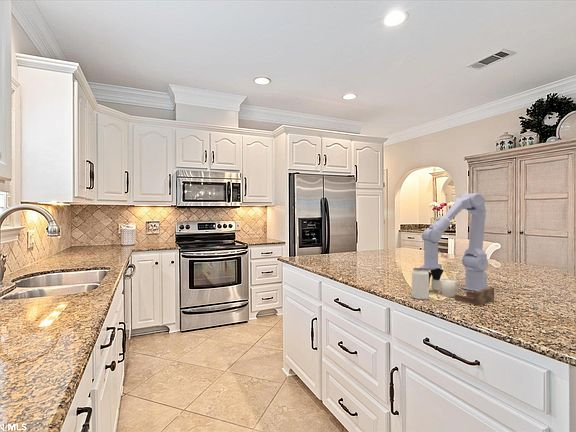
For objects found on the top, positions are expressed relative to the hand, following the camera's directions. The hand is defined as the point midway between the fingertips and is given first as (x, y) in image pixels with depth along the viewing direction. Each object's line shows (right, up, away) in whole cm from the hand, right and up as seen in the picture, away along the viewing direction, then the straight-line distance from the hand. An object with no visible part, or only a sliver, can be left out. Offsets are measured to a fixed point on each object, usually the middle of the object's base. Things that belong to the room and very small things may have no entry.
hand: (431, 286), depth 147 cm
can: (-9, -3, -11) cm, 15 cm away
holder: (+10, -3, -14) cm, 18 cm away
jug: (+4, -2, -5) cm, 7 cm away
